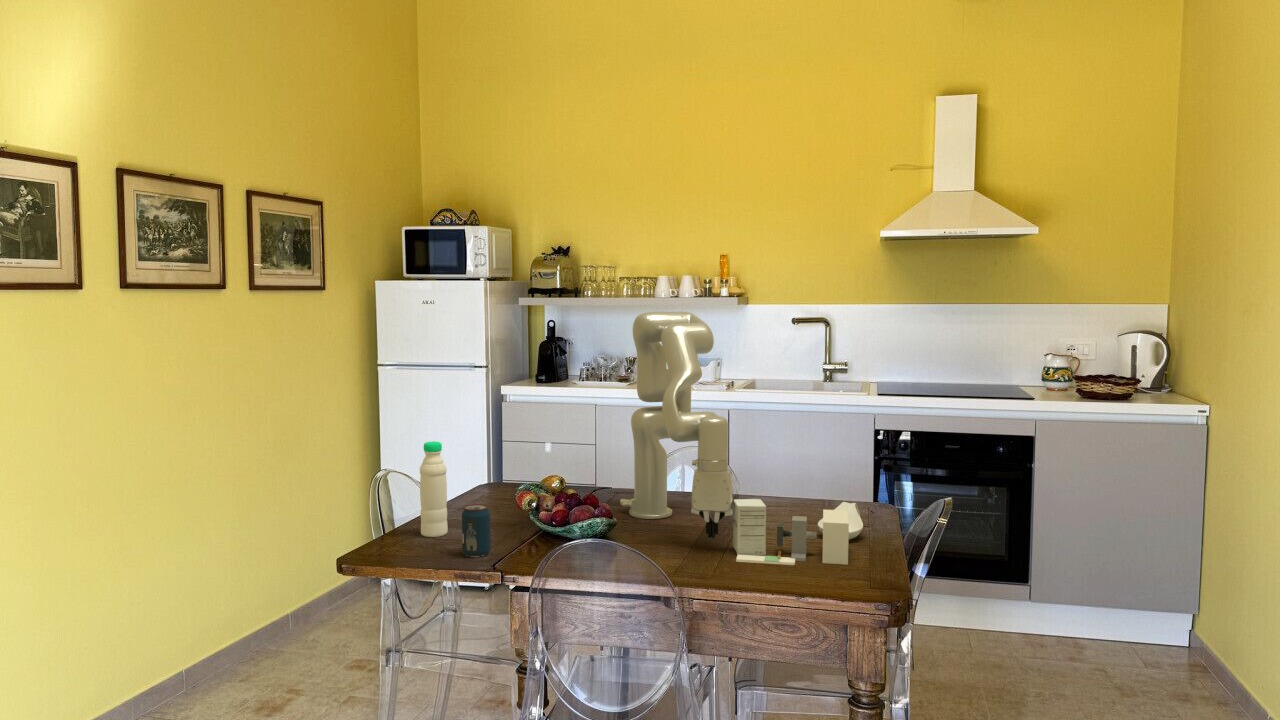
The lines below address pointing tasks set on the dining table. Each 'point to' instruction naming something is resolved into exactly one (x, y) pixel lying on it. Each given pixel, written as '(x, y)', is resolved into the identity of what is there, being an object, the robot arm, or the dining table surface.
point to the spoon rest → (849, 519)
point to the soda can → (476, 530)
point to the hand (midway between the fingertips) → (712, 536)
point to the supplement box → (749, 527)
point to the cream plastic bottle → (433, 492)
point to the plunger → (788, 535)
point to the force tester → (832, 541)
